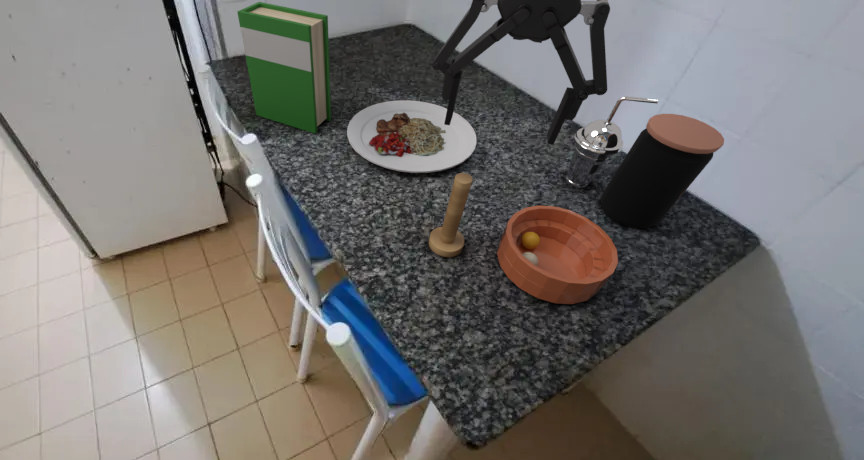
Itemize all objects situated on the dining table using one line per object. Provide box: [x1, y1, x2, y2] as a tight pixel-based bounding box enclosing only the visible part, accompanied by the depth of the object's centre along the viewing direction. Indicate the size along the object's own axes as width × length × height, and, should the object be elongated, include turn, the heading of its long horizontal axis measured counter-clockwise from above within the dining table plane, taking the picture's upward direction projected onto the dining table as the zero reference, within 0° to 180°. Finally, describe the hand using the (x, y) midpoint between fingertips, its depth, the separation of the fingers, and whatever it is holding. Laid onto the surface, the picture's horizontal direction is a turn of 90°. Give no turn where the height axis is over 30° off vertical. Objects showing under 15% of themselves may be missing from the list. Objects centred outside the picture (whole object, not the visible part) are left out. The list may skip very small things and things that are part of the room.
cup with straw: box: [564, 95, 659, 189], centre depth 75 cm, size 8×9×20 cm
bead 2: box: [522, 252, 538, 266], centre depth 64 cm, size 3×3×3 cm
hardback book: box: [236, 1, 332, 135], centre depth 90 cm, size 18×7×24 cm, turn 62°
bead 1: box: [521, 232, 540, 249], centre depth 67 cm, size 3×3×3 cm
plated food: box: [346, 99, 478, 174], centre depth 91 cm, size 30×30×3 cm
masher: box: [428, 172, 474, 258], centre depth 64 cm, size 6×6×15 cm
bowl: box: [496, 205, 619, 305], centre depth 64 cm, size 17×17×6 cm
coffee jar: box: [600, 113, 725, 229], centre depth 69 cm, size 11×11×18 cm
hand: (497, 129), depth 53 cm, fingers open, 13 cm apart
